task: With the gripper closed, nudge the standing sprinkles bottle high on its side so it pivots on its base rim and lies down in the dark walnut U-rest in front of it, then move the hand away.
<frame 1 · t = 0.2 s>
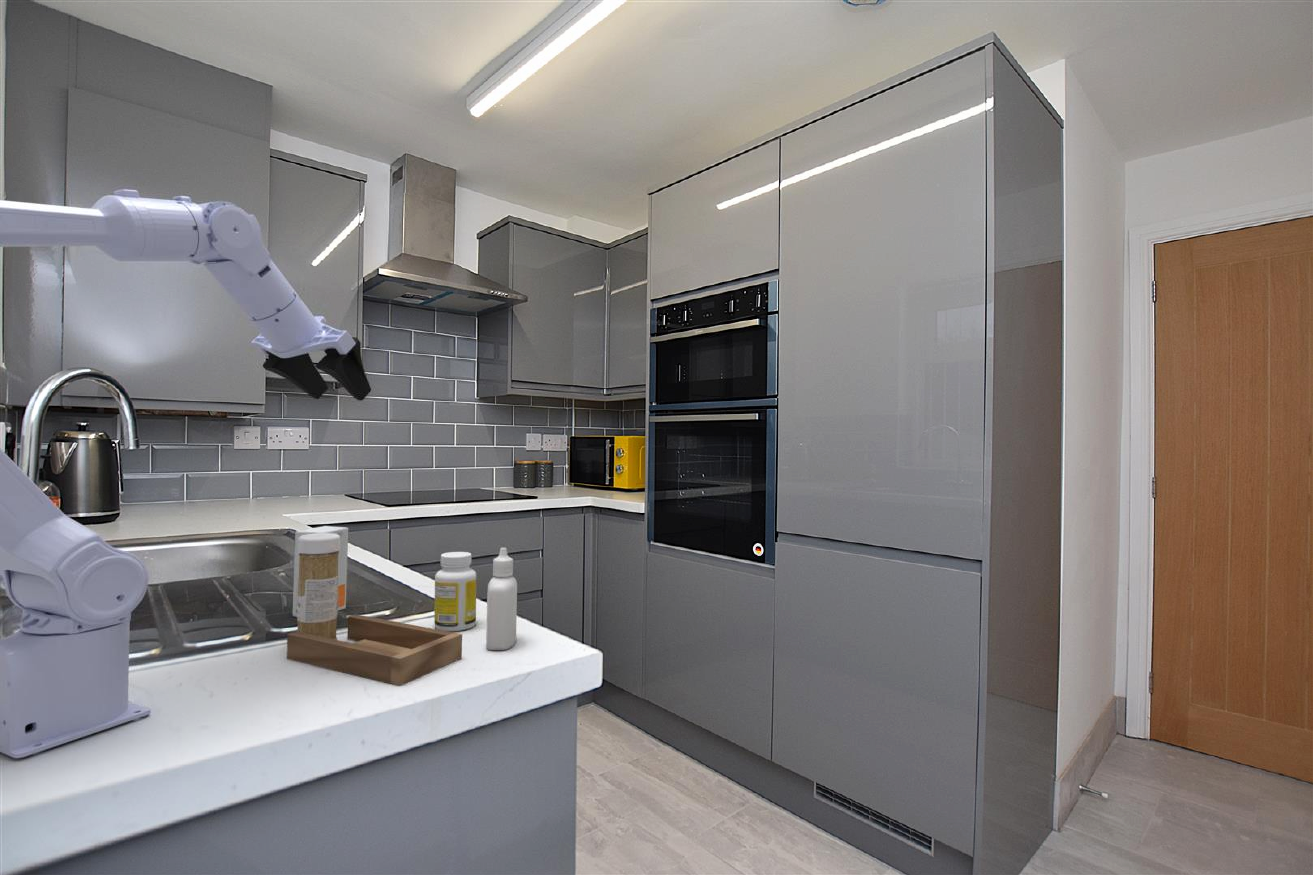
hand: (343, 394, 83), 31 cm above the counter, tool tilted 45°, fingers open, 7 cm apart
sprinkles bottle: (317, 647, 79), on the counter
supplement bottle: (455, 627, 88), on the counter
cradle: (371, 657, 75), on the counter
skincare box: (320, 614, 93), on the counter
eye dropper bottle: (501, 645, 81), on the counter
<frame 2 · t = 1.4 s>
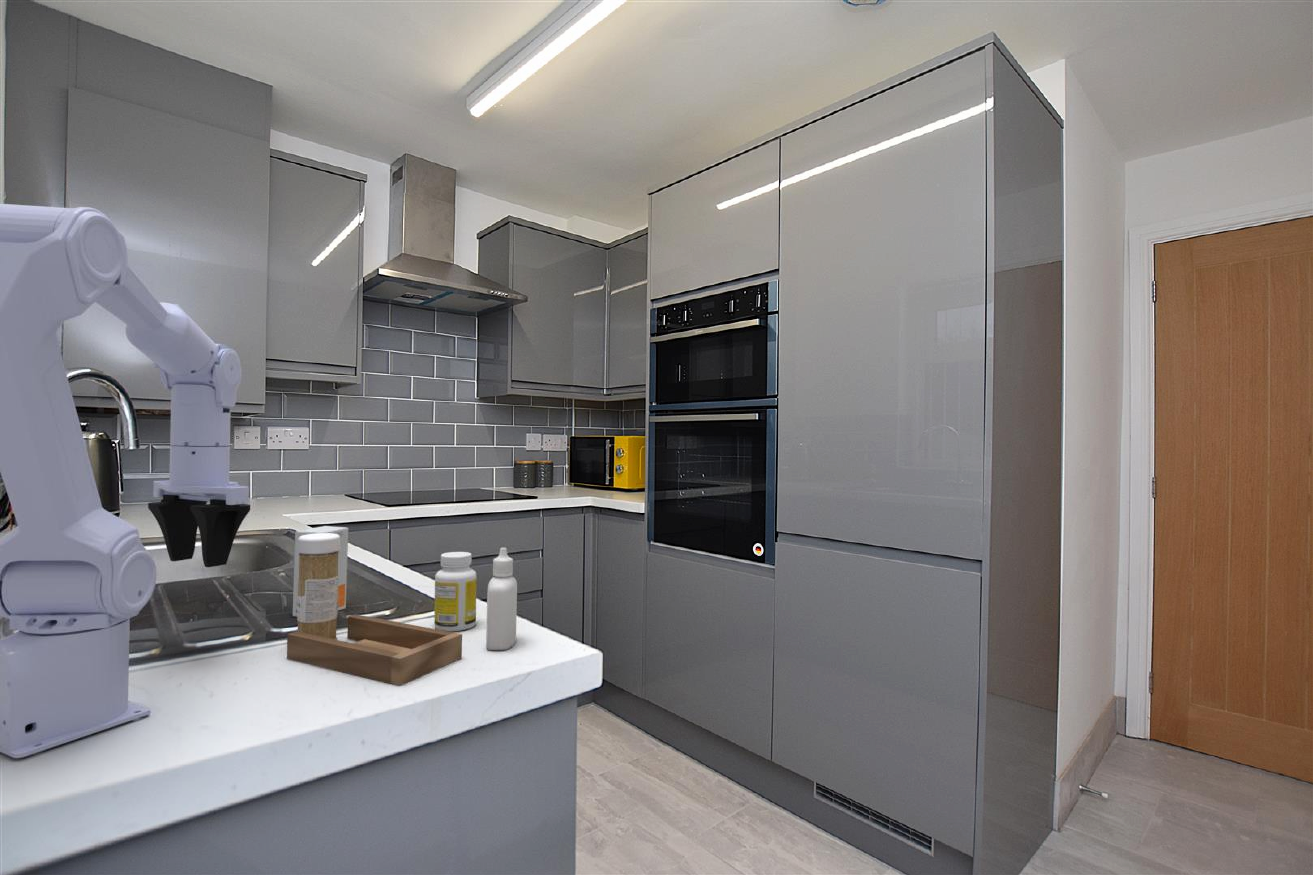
hand: (198, 562, 76), 10 cm above the counter, tool pointing down, fingers open, 6 cm apart
nothing on the counter moved.
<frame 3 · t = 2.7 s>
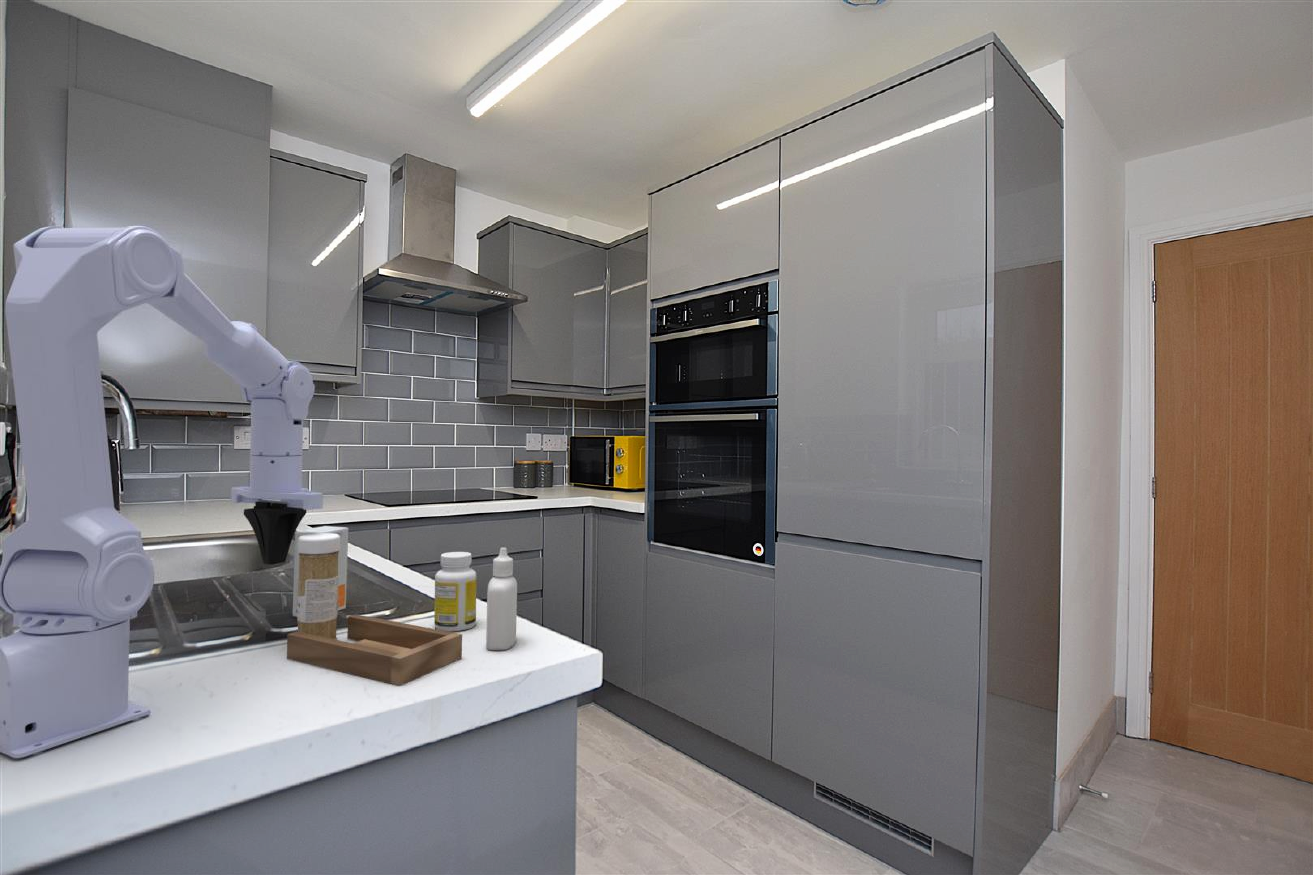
hand: (274, 562, 82), 9 cm above the counter, tool pointing down, fingers closed
nothing on the counter moved.
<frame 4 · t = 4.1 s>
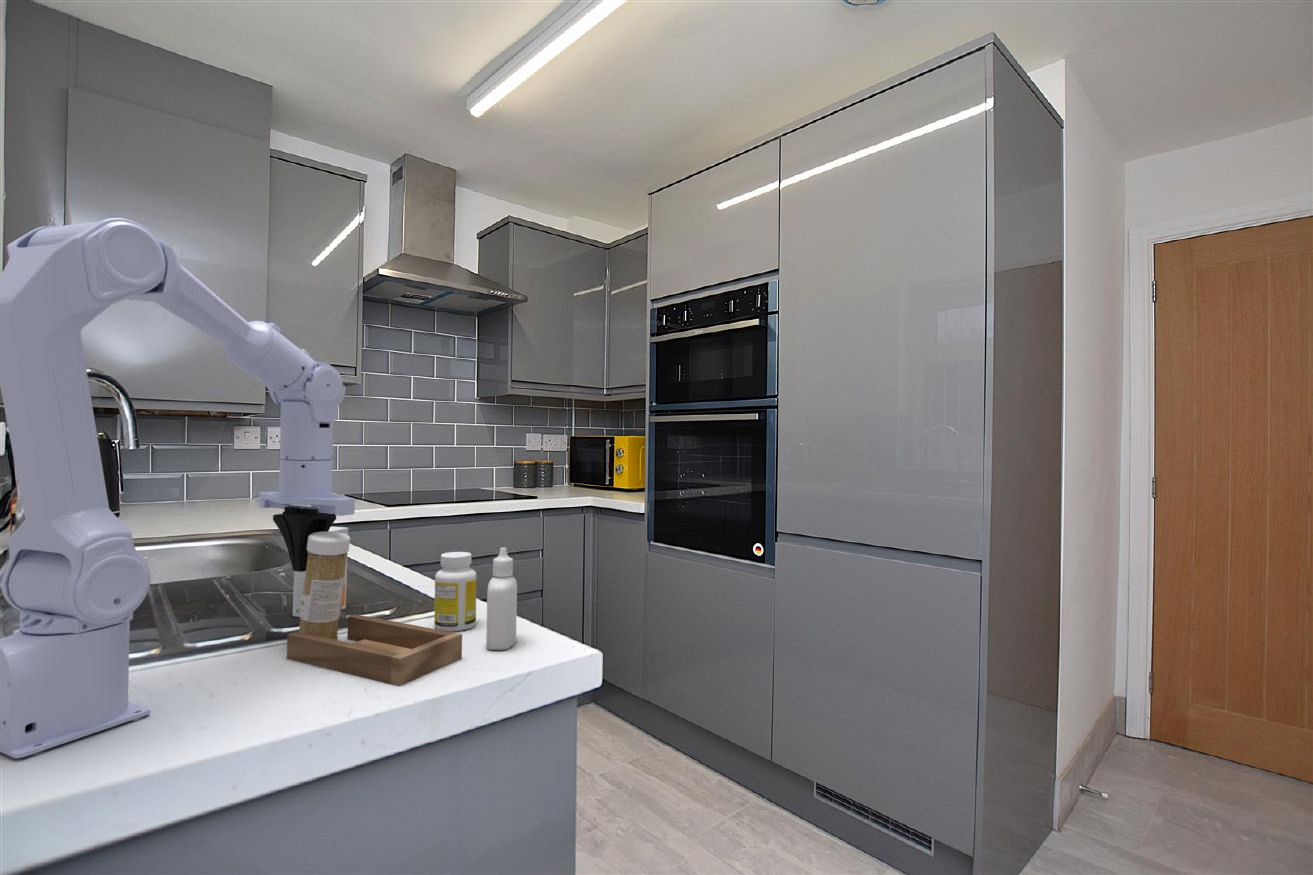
hand: (304, 570, 80), 9 cm above the counter, tool pointing down, fingers closed
sprinkles bottle: (317, 644, 79), on the counter, touching gripper
everything else where it was.
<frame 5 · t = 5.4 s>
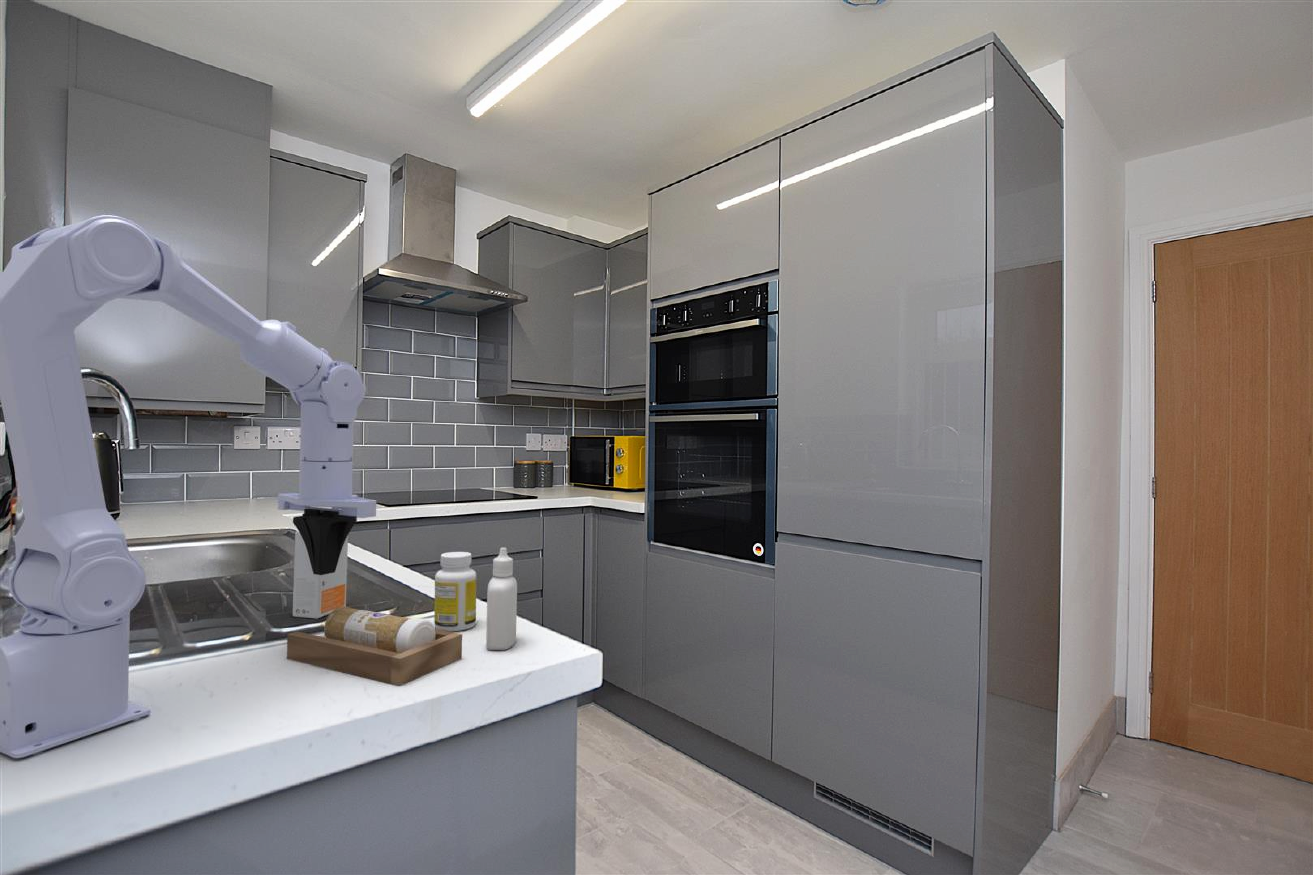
hand: (324, 573, 79), 9 cm above the counter, tool pointing down, fingers closed
sprinkles bottle: (336, 624, 79), point 2 cm above the counter, touching cradle
everything else where it was.
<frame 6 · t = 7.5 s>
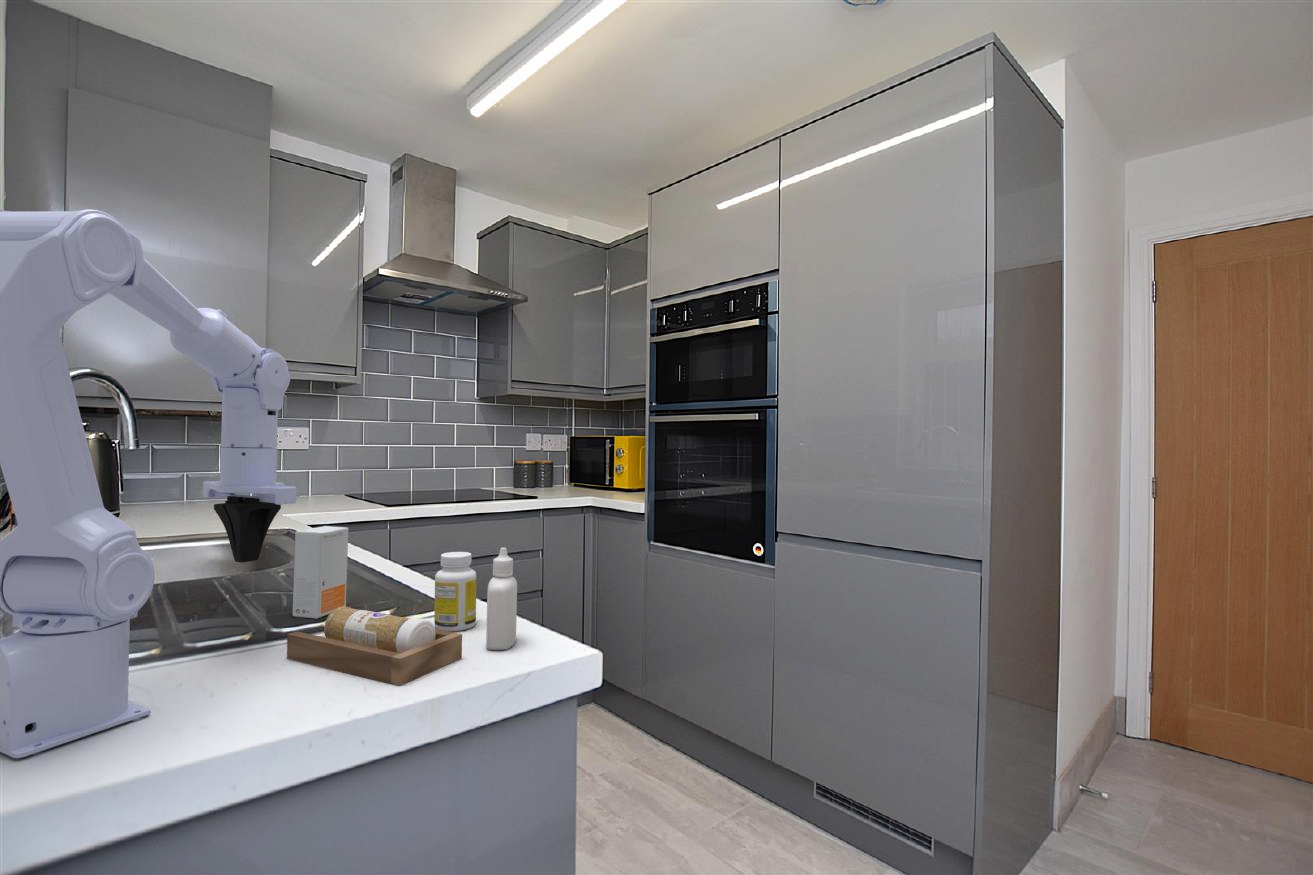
hand: (246, 560, 78), 10 cm above the counter, tool pointing down, fingers closed
nothing on the counter moved.
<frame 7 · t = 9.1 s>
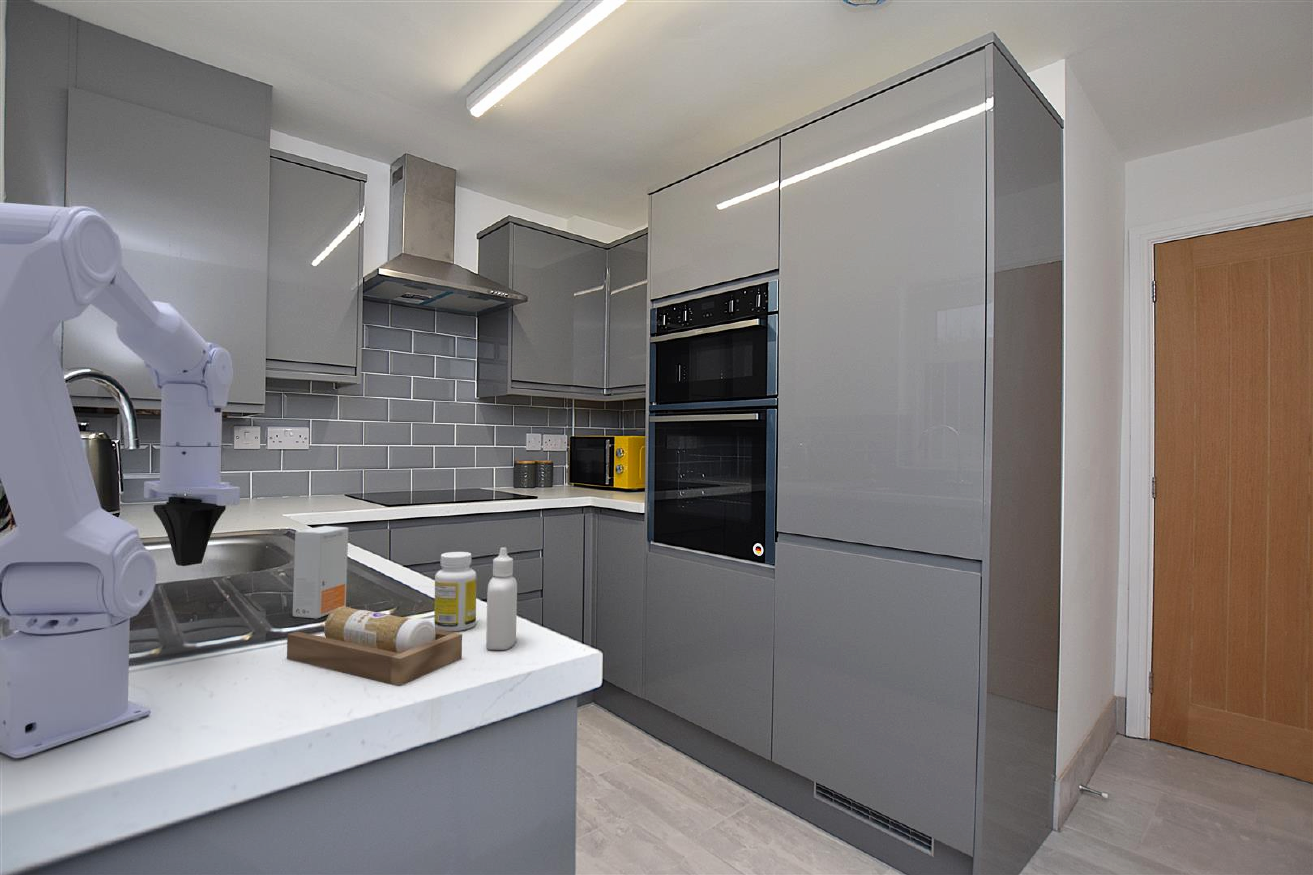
hand: (189, 564, 75), 10 cm above the counter, tool pointing down, fingers closed
nothing on the counter moved.
at the end: sprinkles bottle tilted 89°; sprinkles bottle inside the target area (7.2 cm from its centre), point 2.5 cm above the counter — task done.
